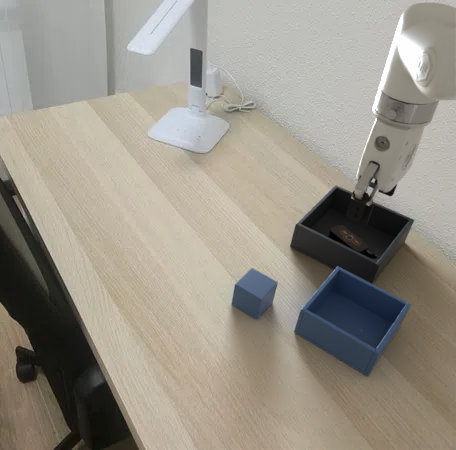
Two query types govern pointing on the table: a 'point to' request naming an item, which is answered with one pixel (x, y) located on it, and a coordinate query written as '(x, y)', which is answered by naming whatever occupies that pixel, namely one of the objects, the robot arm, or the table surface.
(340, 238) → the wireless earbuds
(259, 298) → the blue block
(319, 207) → the charcoal bin
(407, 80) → the robot arm
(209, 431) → the table surface
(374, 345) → the blue bin
